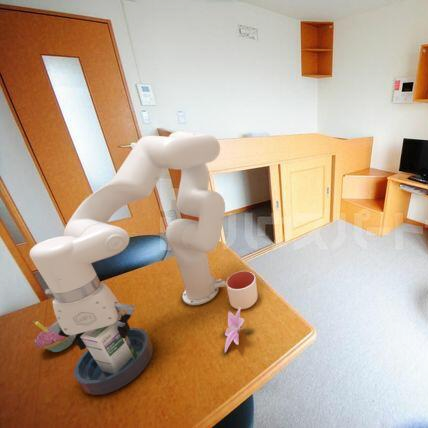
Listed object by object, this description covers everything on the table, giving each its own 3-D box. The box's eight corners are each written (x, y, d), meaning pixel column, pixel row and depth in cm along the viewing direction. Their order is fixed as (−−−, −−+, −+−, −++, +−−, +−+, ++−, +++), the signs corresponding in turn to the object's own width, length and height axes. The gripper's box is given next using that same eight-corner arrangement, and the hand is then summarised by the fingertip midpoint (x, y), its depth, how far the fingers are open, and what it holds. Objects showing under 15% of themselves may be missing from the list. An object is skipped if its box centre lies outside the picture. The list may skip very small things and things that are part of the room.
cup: (262, 293, 92) (260, 273, 88) (250, 313, 84) (246, 292, 79) (239, 289, 94) (235, 268, 90) (224, 308, 86) (220, 287, 81)
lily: (234, 319, 83) (216, 308, 76) (264, 312, 80) (247, 300, 74) (226, 358, 74) (205, 349, 68) (259, 351, 71) (240, 341, 65)
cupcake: (47, 363, 67) (25, 334, 62) (38, 348, 71) (17, 319, 66) (86, 340, 73) (69, 312, 68) (76, 327, 77) (60, 300, 72)
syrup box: (119, 376, 63) (98, 340, 57) (101, 371, 65) (78, 335, 58) (138, 356, 69) (120, 320, 62) (121, 352, 70) (102, 316, 63)
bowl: (158, 333, 76) (153, 321, 74) (146, 381, 63) (140, 368, 61) (97, 350, 71) (89, 338, 68) (71, 407, 58) (60, 394, 55)
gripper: (14, 310, 48) (54, 364, 56) (118, 288, 54) (142, 340, 62) (37, 286, 55) (70, 338, 62) (128, 269, 61) (148, 318, 68)
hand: (106, 338), depth 62 cm, fingers closed on syrup box, 7 cm apart
